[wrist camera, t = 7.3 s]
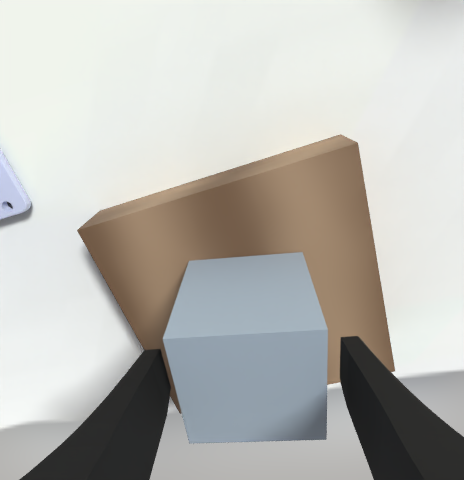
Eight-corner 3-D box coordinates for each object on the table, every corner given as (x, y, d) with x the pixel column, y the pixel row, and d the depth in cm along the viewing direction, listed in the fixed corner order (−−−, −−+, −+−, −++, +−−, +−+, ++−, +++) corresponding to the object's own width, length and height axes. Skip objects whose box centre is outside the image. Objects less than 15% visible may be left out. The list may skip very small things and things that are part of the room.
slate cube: (205, 346, 17) (189, 443, 12) (188, 260, 15) (162, 339, 10) (304, 341, 16) (326, 439, 12) (302, 252, 14) (328, 329, 10)
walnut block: (188, 372, 22) (180, 413, 19) (104, 207, 17) (77, 230, 14) (374, 331, 20) (395, 371, 17) (337, 132, 15) (357, 142, 12)
